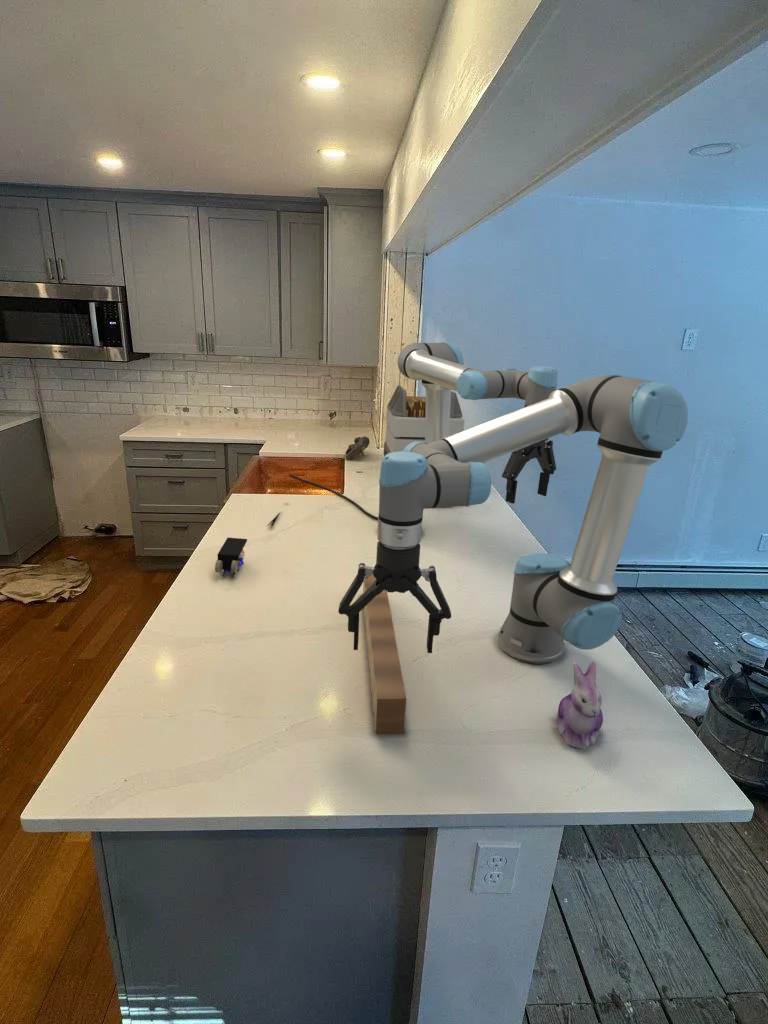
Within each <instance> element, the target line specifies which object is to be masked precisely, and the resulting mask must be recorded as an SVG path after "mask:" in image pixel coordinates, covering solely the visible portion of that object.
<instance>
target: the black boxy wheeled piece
mask: <svg viewBox="0 0 768 1024" xmlns="http://www.w3.org/2000/svg"><path fill="white" fill-rule="evenodd" d="M247 542H248V538H240V537H226V539H225V541H224V543H223V544H222V546H221V547H220V549H219V551H218V552H217V560H216V562H215V564H214V572H215V573H221V577H222V578H224V577H225V576H226V574H227V573H230V574H231V573H232V574H231V578H234V577H235V575H236V573H237V572H239V571H240V567H242V566H243V565H244V564H245V562H244V558H245V551H244V547H245V546H246V544H247Z"/></svg>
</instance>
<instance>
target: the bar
mask: <svg viewBox="0 0 768 1024" xmlns="http://www.w3.org/2000/svg"><path fill="white" fill-rule="evenodd" d="M375 580H376V578H375V577H374V575H373V574H371V575H369V577H368V578H367V579H364V581H363V583H362V594H363V593H364V592H365V591H366V590H367V589H368V588H369V587H370V586H371V585H372V584H373V583H374V581H375ZM389 601H390V600H389V597H388V592H387V591H386V590H383V591H382V592H381V593H380V594H379V595H377V596H376V597H374V598H373V599H372V600H371V601H370V602H369V603H368V604H367V605H366V606H365V607H364V608H363V613H364V614H363V615H364V626H365V636H366V646H367V659H368V667H369V668H368V669H369V678H370V679H369V680H370V690H371V701H372V711H373V721H374V731H375V732H374V734H376V735H381V734H385V735H387V734H405V722H406V721H405V720H406V706H407V705H406V704H407V697H406V690H405V684H404V678H403V674H402V668H401V663H400V657H399V652H398V646H397V645H398V644H397V640H396V635H395V628H394V624H393V617H392V613H391V606H390V602H389Z"/></svg>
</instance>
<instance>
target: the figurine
mask: <svg viewBox="0 0 768 1024" xmlns="http://www.w3.org/2000/svg"><path fill="white" fill-rule="evenodd" d="M597 667H598V666H597V662H595V661H591V662H590V663H589V665H588V666H587V669H586V671H585V673H584V671H583V670H582V668H581V666H580V665H579V664H578V663H576V662H574V663H573V664H572V671H573V673H572V674H573V688H572V690H571V692H570V693H569V694H567V695H566V696H564V697H563V698H562V699H560V702H559V704H558V709H557V716H556V727H557V732H558V733H559V734H560V735H561V736H562V738H563V739H564V742H565V743H566V744H567V745H568V746H569V747H574V748H577V749H587V748H588V747H589V746H590V745H595V744H596V743H597V740H598V738H599V735H600V734H599V733H600V730H601V728H602V726H603V724H604V723H603V722H604V717H603V716H604V715H603V712H602V708H601V706H602V704H603V696H602V693H601V691H600V689H599V686H598V685H597V670H598V669H597Z"/></svg>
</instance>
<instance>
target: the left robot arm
mask: <svg viewBox="0 0 768 1024" xmlns="http://www.w3.org/2000/svg"><path fill="white" fill-rule="evenodd" d="M397 367H398V370H399V372H400V374H401V375H403V376H404V377H405V378H407V379H410V380H413V381H421V385H422V386H423V388H424V389H425V397H426V411H425V443H428V444H430V443H432V442H435V441H438V440H441V439H444V438H446V437H449V436H450V407H451V391H454V392H455V393H458V395H459V397H460V398H461V399H463V400H470V401H477V400H490V399H519V400H523V401H524V406H523V408H525V407H527V406H530V405H533V404H535V403H538V402H540V401H543V400H546V399H548V397H549V395H550V394H551V393H552V392H553V391H555V390H557V386H558V372H559V371H558V369H557V368H555V367H553V366H545V365H533V366H530V367H529V369H528V371H524V370H518V369H517V368H503V369H501V370H481V369H478V368H474V367H471V366H468V365H465V362H464V356H463V353H462V351H461V350H460V348H459V347H458V346H457V345H456V344H454V343H451V342H449V343H448V342H412V343H409V344H408V345H406V346H405V347H403V349H401V350H400V352H399V354H398V356H397ZM553 446H554V441H553V440H551V439H549V438H547V439H545V440H542V441H540V442H537V443H535V444H532V445H529V446H527V447H524V448H522V449H519V450H517V451H514V452H512V453H510V454H511V455H510V456H509V459H508V460H507V463H506V465H505V467H504V470H503V472H502V474H501V478H503V479H506V487H505V491H506V494H505V502H507V503H510V504H515V503H516V496H517V495H516V494H517V487H518V480H517V478H518V476H519V475H520V473H521V471H522V470H523V469H524V467H525V466H526V464H527V463H528V462H530V461H531V460H533V459H536V460H537V462H538V464H539V467H540V469H541V470H542V471H541V472H539V479H538V484H537V485H538V486H537V493H536V494H537V495H540V496H542V497H546V496H547V494H548V488H549V487H548V486H549V484H550V477H551V475H554V474H555V471H556V470H557V463H556V460H555V455H554V454H555V453H554V449H553V448H554V447H553ZM288 477H289V478H292V479H293V480H297V481H300V482H301V483H305V484H308V485H310V486H313V487H316V488H319V489H322V490H324V491H327V492H329V493H332V494H335V495H336V496H339V497H341V498H343V499H345V500H346V501H348V502H350V504H352V505H354V506H355V507H357V509H359V510H360V511H361V512H362V513H364V514H365V515H366V516H368V517H370V518H372V519H373V520H377V521H378V517H379V516H376V515H373V514H372V513H369V512H368V511H367V510H366V509H364V508H363V507H362V506H361V505H360V504H358V503H357V502H355V501H354V500H352V499H351V498H349V497H347V496H345V495H344V494H342V493H340V492H338V491H335V490H333V489H331V488H329V487H326V486H323V485H320V484H318V483H314V482H313V481H312V482H311V481H309V480H306V479H303V478H300V477H298V476H295V475H293V474H290V473H289V474H288ZM422 535H423V528H422V529H421V536H422Z"/></svg>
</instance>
